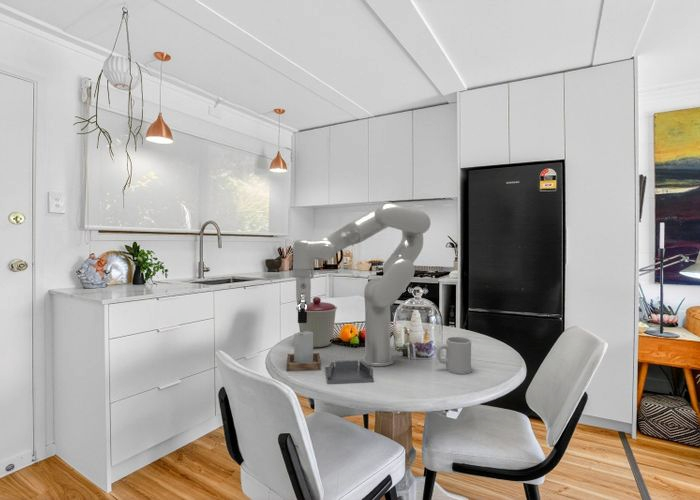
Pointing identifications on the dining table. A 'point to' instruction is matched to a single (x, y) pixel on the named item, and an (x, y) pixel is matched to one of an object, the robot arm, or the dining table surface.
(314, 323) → the canister
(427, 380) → the dining table surface
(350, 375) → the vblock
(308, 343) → the skincare box
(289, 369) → the walnut collar
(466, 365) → the mug
